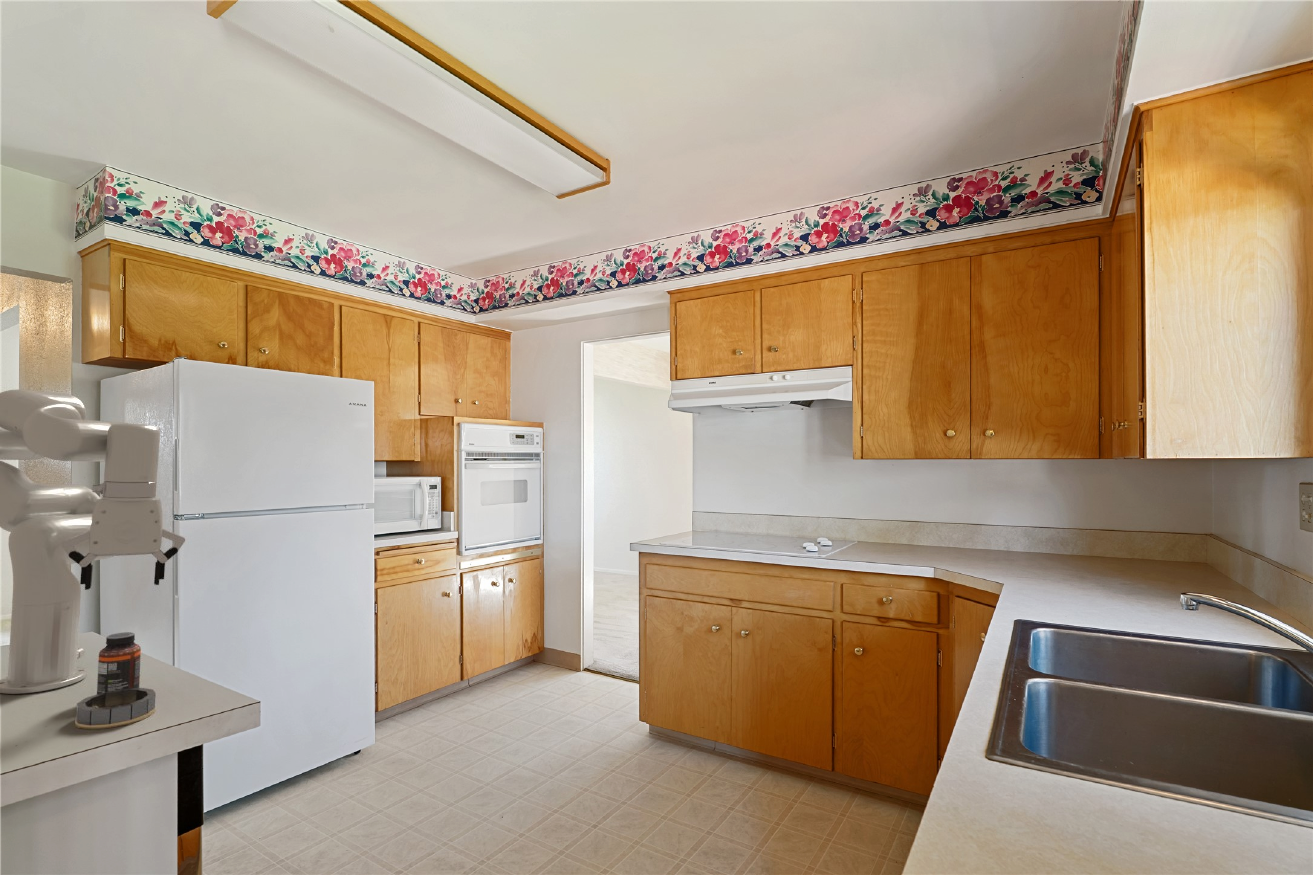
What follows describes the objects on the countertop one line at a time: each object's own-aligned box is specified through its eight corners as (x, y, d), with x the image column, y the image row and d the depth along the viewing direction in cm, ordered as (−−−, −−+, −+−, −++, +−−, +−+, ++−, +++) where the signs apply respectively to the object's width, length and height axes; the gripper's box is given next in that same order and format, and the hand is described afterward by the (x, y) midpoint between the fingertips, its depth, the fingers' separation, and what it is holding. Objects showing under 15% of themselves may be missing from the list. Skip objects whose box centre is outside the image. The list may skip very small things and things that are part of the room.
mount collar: (96, 707, 113) (97, 689, 113) (166, 702, 116) (167, 685, 116) (59, 731, 103) (60, 712, 103) (137, 726, 106) (138, 707, 106)
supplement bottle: (134, 689, 121) (137, 628, 122) (142, 697, 118) (146, 634, 118) (92, 697, 117) (96, 634, 117) (100, 706, 113) (104, 641, 113)
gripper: (63, 492, 110) (56, 594, 109) (189, 493, 120) (182, 585, 120) (68, 489, 116) (60, 585, 115) (187, 490, 126) (181, 578, 126)
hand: (123, 585), depth 117 cm, fingers open, 9 cm apart
